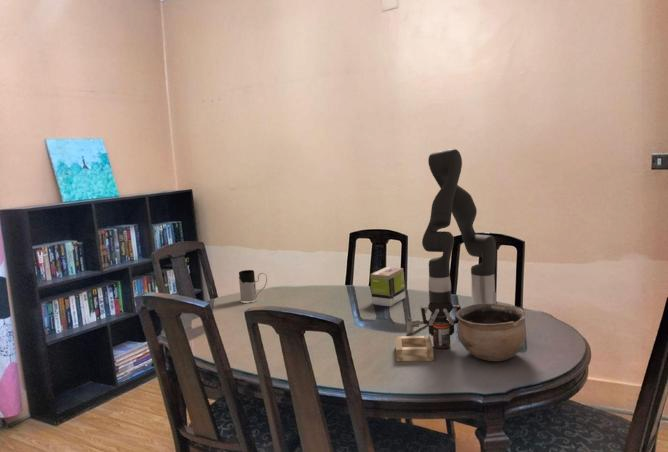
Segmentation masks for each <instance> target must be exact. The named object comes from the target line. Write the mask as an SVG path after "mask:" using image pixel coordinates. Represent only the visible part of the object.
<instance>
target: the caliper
mask: <svg viewBox="0 0 668 452" xmlns="http://www.w3.org/2000/svg"><path fill="white" fill-rule="evenodd" d="M429 319H430V318H426V320H429ZM420 325H425V324H424V323H423V319H413V318H412V317H410V318H409V317H408V319H407V321H406V335H408V336H411V335H410V334H413V333H414V329H415V328H419V326H420Z"/></svg>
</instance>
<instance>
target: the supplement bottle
mask: <svg viewBox="0 0 668 452" xmlns="http://www.w3.org/2000/svg"><path fill="white" fill-rule="evenodd" d="M432 341H433V342H432V346H434V347H435V348H438V349H448V348H449V347H450V346H451V335H450V322H449V320H448V318H447V317H446V316H436V318H435V320H434V322H433V336H432Z"/></svg>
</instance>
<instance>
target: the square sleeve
mask: <svg viewBox="0 0 668 452" xmlns="http://www.w3.org/2000/svg"><path fill="white" fill-rule="evenodd" d="M394 339H395V357H396V362H421V361H422V362H427V361H428V362H429V361H430V362H431V361H434V347H433V342H432V339H431V335H401V336H400V335H399V336H398V335H397V336H395V337H394Z"/></svg>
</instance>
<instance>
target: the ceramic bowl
mask: <svg viewBox="0 0 668 452" xmlns="http://www.w3.org/2000/svg"><path fill="white" fill-rule="evenodd" d="M455 314H456V317H457V319H458V323H457V326H456V327H457V329H456V330H457V331H456V332H457V337H458V340H459V342H460V344H461V345H462V346H463V348H464V349H465V350H466V351H467V352H469V353H470V354H471V355H473V356H474V357H476V358H477V359H481V360H483V361H490V362H501V361H502V362H503V361H507V360H509V359H511V358H513V357H514V356H516V355H517V354H518V353H519V352H520V350H521V349H522V348H523V347H524V344H525V342H526V339H527V328H526V323H525V319H526V311H524V309H523V308H520V307H517V306H510V305H505V304H499V303H496V304H490V303H484V304H475V305H472V304H471V305H467V306H464V307H461V309H460V310H458V311H457V313H456V312H455Z"/></svg>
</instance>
